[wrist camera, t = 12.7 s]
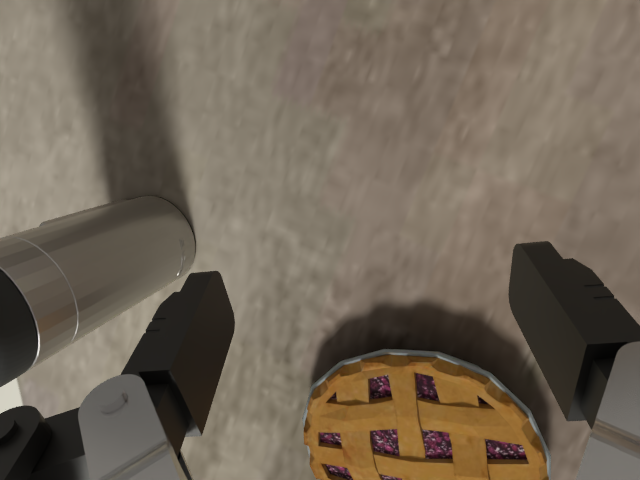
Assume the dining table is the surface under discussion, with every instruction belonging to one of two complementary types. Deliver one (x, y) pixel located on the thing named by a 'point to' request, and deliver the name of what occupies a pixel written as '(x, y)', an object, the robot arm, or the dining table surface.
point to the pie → (419, 422)
